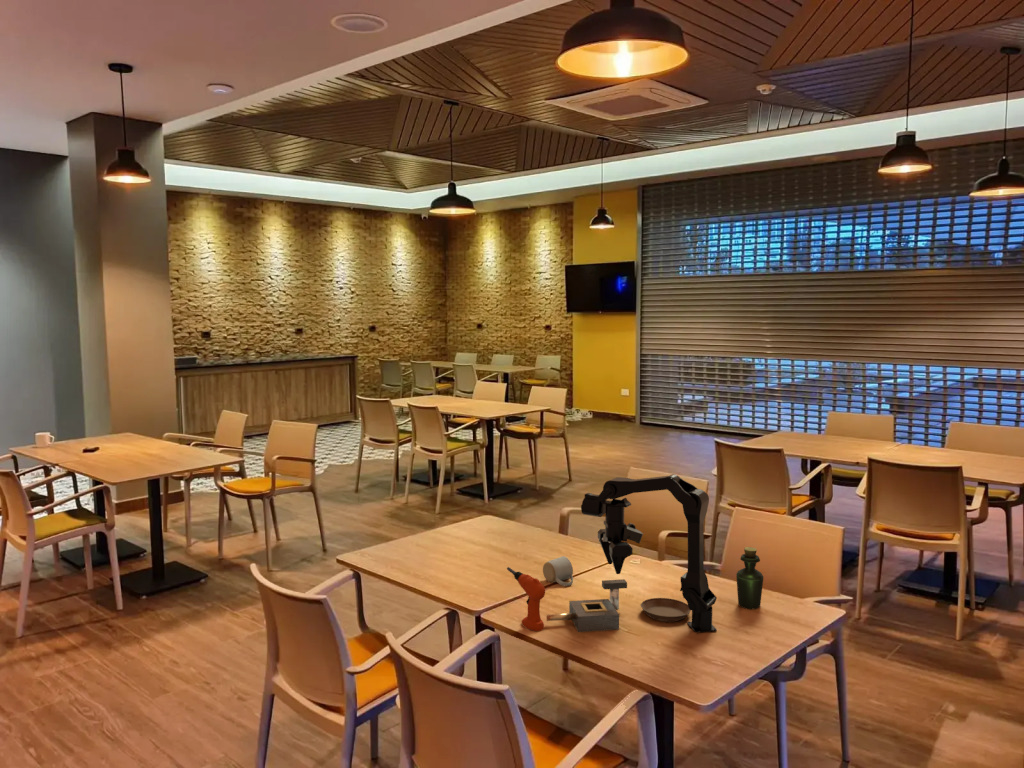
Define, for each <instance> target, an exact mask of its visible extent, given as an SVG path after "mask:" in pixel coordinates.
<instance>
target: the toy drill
mask: <svg viewBox="0 0 1024 768" xmlns="http://www.w3.org/2000/svg"><path fill="white" fill-rule="evenodd" d="M506 569H507V571H508V572H509V573H511V574H512V575H513V577H514V579H515V580H516V581H517V582H518V585H519V586H520V587H521V589H523V591H524V592H525V593H526V595H527V596H528V598H527V600H526V604H527V616H526V617H523V618H522V620H521V625H522V624H523V625H524V626H525V627H524V626H523V625H522V626H523V627H524V628H526V629H528V630H530V631H533V630H534V632H538V631H540V632H541V631H542V630H544V629H545V623H544V621H543V619H542V618H541V614H540V613H541V611H540V605H541V604H540V603H541V600H542V599H543V598H544V597H545V595H546V588H545V586H544V584H543V583H542V582H541V581H540V580H539V579H538V578H536V577H535V578H534V577H533V576H532V575H529V574H526V573H523V572H520V571H516V570H514V569H512V568H511V567H509V566H507V568H506Z"/></svg>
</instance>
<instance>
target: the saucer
mask: <svg viewBox="0 0 1024 768" xmlns="http://www.w3.org/2000/svg"><path fill="white" fill-rule="evenodd" d="M640 607H641V608H642V610H643V612H644V613H645V614H646V615H647V616H648V617H650V618H652V619H654V620H656V621H660V622H679V621H681V620H683V619H685V618H686V617H687V616H688V615H689V614H690V612H692V610H690V609H689V606H688V603H687V602H686V603H685V602H684V601H681V600H678V599H674V598H669V597H668V598H667V597H652V598H647V599H645V600H643V601H642V602H641V604H640Z"/></svg>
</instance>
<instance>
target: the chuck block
mask: <svg viewBox="0 0 1024 768" xmlns="http://www.w3.org/2000/svg"><path fill="white" fill-rule="evenodd" d="M568 607H569V609H568V610H569V612H568V613H552V614H551V613H549V614H546V615H545V617H546V622H552V621H553V622H554V621H556V622H557V621H568V620H569V621H572V623H573V625H574V627H575V628H576V631H577V632H578V633H583V632H584V633H585V632H597V631H598V632H599V631H601V632H602V631H617V630H620V613H619V612H618V610H616V609H615V608H614V606H613V605H612V603H611V602H610V598H603V599H602V598H601V599H584V600H583V599H582V600H569V606H568Z"/></svg>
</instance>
